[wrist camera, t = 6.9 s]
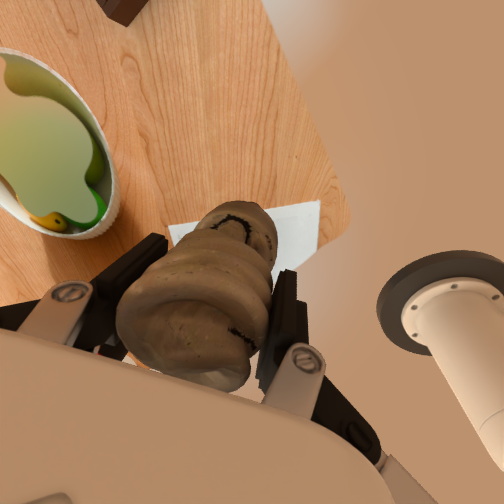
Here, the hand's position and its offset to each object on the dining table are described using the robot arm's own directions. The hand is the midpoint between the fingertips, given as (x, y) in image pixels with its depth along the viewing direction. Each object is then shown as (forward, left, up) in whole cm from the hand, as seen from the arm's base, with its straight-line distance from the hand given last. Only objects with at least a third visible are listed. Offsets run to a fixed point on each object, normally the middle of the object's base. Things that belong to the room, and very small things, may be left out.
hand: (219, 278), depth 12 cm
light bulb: (0, 0, -10) cm, 10 cm away
